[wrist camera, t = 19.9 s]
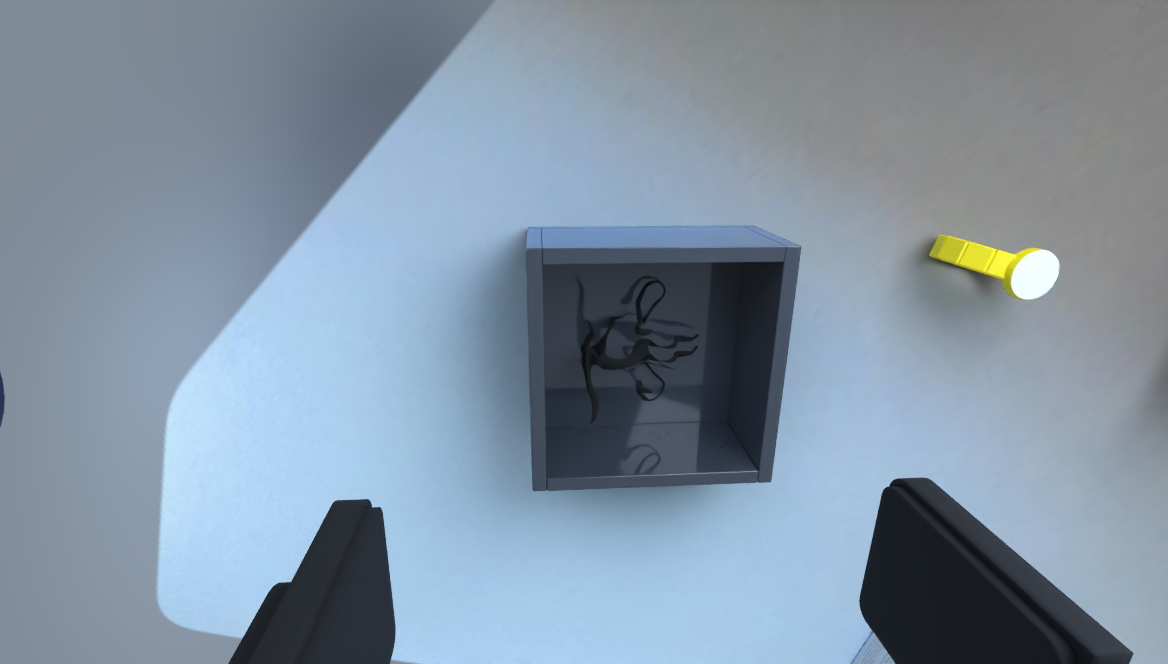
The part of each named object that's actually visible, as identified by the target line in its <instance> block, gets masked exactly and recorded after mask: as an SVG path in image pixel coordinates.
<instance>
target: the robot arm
mask: <svg viewBox="0 0 1168 664" xmlns="http://www.w3.org/2000/svg"><path fill="white" fill-rule="evenodd" d="M859 602H860V609H861V612H862V615H863V617H864V619H865V621H866V622H867V624H868V625H869V626H870V628H871V629H872V631H873V632H874V634H875V635H876V636H877V638H878V639H879V641H880V642H881V644H882V645H883V647H884V648H885V649H886V651H887V652H888V654H889V655H890V657H891V658H892V659H893V661H894V662H895V664H1129V663H1130V660H1131V658H1132V655H1133V652H1131V651H1130V650H1129V649H1128V648H1127V647H1126V646H1124V645H1123V644H1122V643H1121V642H1120V641H1119V640H1117V639H1116V638H1115V637H1114V636H1113V635H1112V634H1110V633H1109V632H1108V631H1107V630H1106V629H1105V628H1103V627H1102V626H1101V625H1100V624H1099V623H1098V622H1096V621H1095V620H1094V619H1093V618H1092V617H1091V616H1089V615H1088V614H1087V613H1086V612H1085V611H1084V610H1082V609H1081V608H1080V607H1079V606H1078V605H1077V604H1075V603H1074V602H1073V601H1072V600H1071V599H1070V598H1068V597H1067V596H1066V595H1065V594H1064V593H1063V592H1061V591H1060V590H1059V589H1058V588H1057V587H1056V586H1054V585H1053V584H1052V583H1051V582H1050V581H1049V580H1047V579H1046V578H1045V577H1044V576H1043V575H1042V574H1040V573H1039V572H1038V571H1037V570H1036V569H1034V568H1033V567H1032V566H1031V565H1030V564H1029V563H1027V562H1026V561H1025V560H1024V559H1023V558H1022V557H1020V556H1019V555H1018V554H1017V553H1016V552H1015V551H1013V550H1012V549H1011V548H1010V547H1009V546H1008V545H1006V544H1005V543H1004V542H1003V541H1002V540H1001V539H999V538H998V537H997V536H996V535H995V534H994V533H992V532H991V531H990V530H989V529H988V528H987V527H985V526H984V525H983V524H982V523H981V522H980V521H978V520H977V519H976V518H975V517H974V516H973V515H971V514H970V513H969V512H968V511H967V510H966V509H964V508H963V507H962V506H961V505H960V504H959V503H957V502H956V501H955V500H954V499H953V498H952V497H950V496H949V495H948V494H947V493H946V492H945V491H943V490H942V489H941V488H940V487H939V486H938V485H936V484H935V483H934V482H933V481H931V480H930V479H928V478H902V479H895V480H893V481H892V482H891V483H890V486H889V487H886V488H885V489H884V490H883V493H882V496H881V501H880V506H879V510H878V515H877V519H876V524H875V529H874V533H873V538H872V543H871V547H870V552H869V557H868V561H867V566H866V570H865V575H864V580H863V584H862V589H861V594H860V600H859ZM394 643H395V618H394V609H393V600H392V591H391V582H390V573H389V564H388V555H387V546H386V538H385V529H384V520H383V512H382V509H381V508H380V507H374V508H372V504H371V502H370V500H368V499H362V500H337V501H335V502H334V503H333V504H332V506H331V507H330V509H329V511H328V513H327V515H326V517H325V519H324V521H323V523H322V525H321V526H320V528H319V530H318V532H317V534H316V536H315V538H314V540H313V542H312V544H311V545H310V547H309V549H308V551H307V553H306V555H305V557H304V559H303V561H302V562H301V564H300V566H299V568H298V570H297V572H296V574H295V576H294V578H293V580H292V581H291V582H286V583H278V584H276V585H275V586H273V587H272V589H271V590H270V592H269V593H268V594H267V596H266V598H265V600H264V602H263V603H262V605H261V607H260V609H259V610H258V612H257V614H256V616H255V617H254V619H253V621H252V623H251V625H250V626H249V628H248V630H247V632H246V633H245V635H244V637H243V639H242V640H241V642H240V644H239V646H238V648H237V650H236V651H235V653H234V655H233V657H232V658H231V660H230V662H229V664H390V660H391V656H392V653H393V648H394Z"/></svg>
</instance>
